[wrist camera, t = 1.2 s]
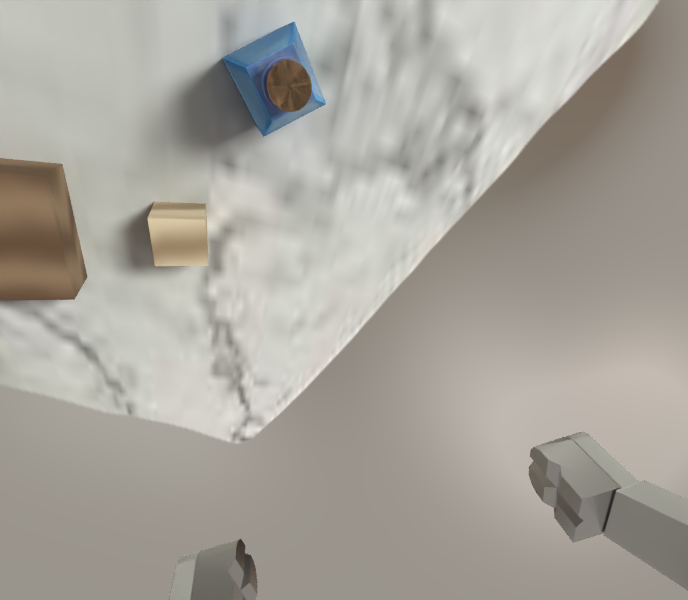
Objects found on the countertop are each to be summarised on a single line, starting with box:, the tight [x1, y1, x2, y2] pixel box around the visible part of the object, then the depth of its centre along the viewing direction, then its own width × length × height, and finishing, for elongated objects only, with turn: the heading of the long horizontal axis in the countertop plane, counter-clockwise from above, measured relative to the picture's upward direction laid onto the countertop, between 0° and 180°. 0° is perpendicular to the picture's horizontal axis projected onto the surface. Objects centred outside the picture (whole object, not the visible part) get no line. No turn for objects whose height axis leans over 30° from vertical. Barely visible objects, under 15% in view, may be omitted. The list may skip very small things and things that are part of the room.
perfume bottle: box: [222, 22, 326, 136], centre depth 30 cm, size 6×6×12 cm
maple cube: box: [148, 202, 208, 266], centre depth 38 cm, size 5×5×5 cm
